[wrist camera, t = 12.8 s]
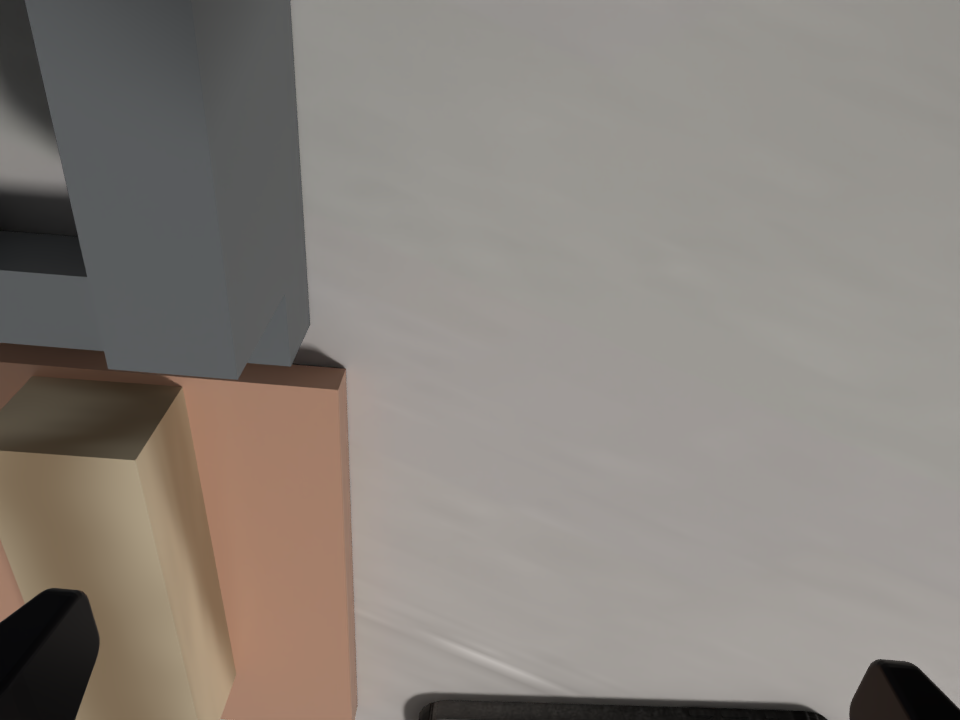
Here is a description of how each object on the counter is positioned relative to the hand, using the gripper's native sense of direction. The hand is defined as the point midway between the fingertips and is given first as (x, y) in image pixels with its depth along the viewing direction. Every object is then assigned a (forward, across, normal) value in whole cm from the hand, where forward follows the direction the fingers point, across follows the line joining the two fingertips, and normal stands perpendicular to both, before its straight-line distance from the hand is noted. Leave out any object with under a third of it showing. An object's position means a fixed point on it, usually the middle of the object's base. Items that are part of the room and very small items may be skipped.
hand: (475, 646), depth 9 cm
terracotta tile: (+12, +10, +12) cm, 20 cm away
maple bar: (+11, +10, +11) cm, 18 cm away
